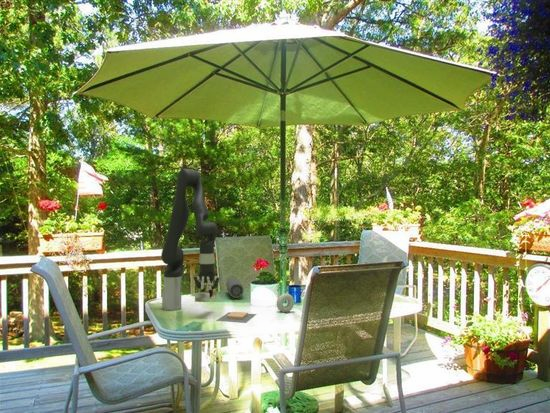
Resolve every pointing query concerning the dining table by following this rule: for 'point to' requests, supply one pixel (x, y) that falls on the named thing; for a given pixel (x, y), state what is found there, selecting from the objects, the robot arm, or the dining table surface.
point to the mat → (246, 319)
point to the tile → (237, 315)
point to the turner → (204, 296)
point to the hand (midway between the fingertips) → (207, 296)
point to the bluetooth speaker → (234, 287)
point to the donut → (281, 300)
